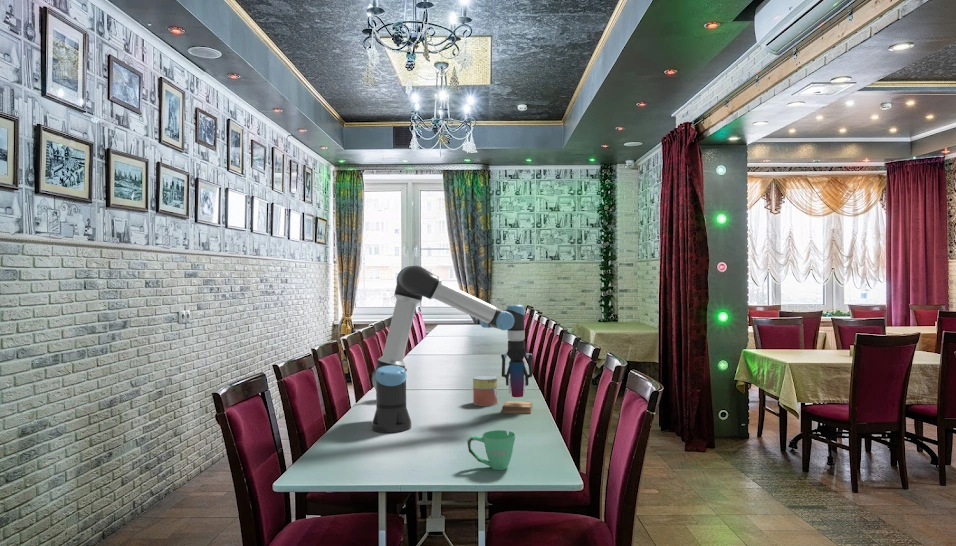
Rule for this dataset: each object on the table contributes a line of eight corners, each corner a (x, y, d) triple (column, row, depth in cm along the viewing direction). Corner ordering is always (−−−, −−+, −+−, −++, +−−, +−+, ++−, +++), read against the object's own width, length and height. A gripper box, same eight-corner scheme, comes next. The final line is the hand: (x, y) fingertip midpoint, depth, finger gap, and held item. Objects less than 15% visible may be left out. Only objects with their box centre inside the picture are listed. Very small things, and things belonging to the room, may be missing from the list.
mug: (515, 462, 182) (515, 430, 182) (515, 472, 172) (514, 438, 172) (468, 462, 183) (468, 430, 183) (465, 472, 173) (465, 438, 173)
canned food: (496, 406, 264) (495, 379, 264) (471, 405, 266) (471, 379, 266) (499, 401, 275) (498, 375, 275) (475, 400, 277) (475, 375, 277)
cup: (515, 394, 260) (514, 360, 260) (528, 395, 256) (527, 361, 256) (506, 396, 255) (505, 362, 255) (519, 398, 250) (518, 363, 251)
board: (530, 413, 248) (530, 407, 248) (502, 412, 250) (502, 406, 250) (532, 407, 260) (532, 401, 260) (505, 406, 262) (505, 401, 262)
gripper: (538, 339, 258) (539, 391, 258) (495, 339, 261) (496, 391, 260) (537, 340, 250) (538, 395, 250) (493, 341, 253) (494, 394, 253)
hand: (517, 393), depth 255 cm, fingers closed on cup, 6 cm apart
